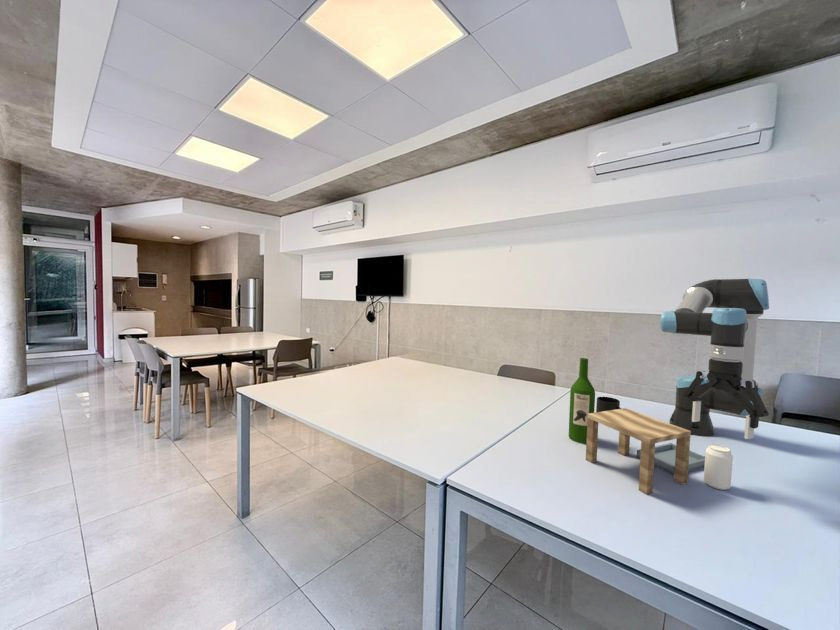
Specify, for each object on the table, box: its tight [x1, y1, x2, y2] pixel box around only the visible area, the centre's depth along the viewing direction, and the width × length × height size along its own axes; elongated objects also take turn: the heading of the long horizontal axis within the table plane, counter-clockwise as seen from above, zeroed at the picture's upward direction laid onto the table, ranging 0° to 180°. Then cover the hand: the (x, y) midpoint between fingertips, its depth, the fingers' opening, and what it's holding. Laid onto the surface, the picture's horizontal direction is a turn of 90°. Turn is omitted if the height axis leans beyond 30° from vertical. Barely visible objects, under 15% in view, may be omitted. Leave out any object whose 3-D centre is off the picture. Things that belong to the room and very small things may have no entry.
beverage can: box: [703, 443, 734, 491], centre depth 104 cm, size 6×6×12 cm
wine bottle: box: [568, 357, 596, 444], centre depth 136 cm, size 9×9×32 cm
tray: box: [636, 442, 705, 476], centre depth 119 cm, size 18×13×2 cm
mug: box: [595, 396, 622, 413], centre depth 159 cm, size 9×12×9 cm
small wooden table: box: [585, 407, 692, 495], centre depth 112 cm, size 18×22×16 cm
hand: (720, 429), depth 103 cm, fingers open, 13 cm apart
